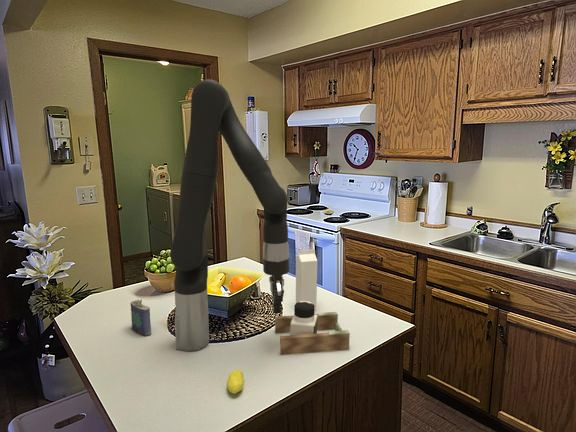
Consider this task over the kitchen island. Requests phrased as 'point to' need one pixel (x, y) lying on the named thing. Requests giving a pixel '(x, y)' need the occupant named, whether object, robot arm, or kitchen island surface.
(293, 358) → the kitchen island surface
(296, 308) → the medicine bottle
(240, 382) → the lemon
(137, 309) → the flask
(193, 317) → the robot arm
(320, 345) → the bay
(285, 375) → the kitchen island surface
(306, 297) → the milk
